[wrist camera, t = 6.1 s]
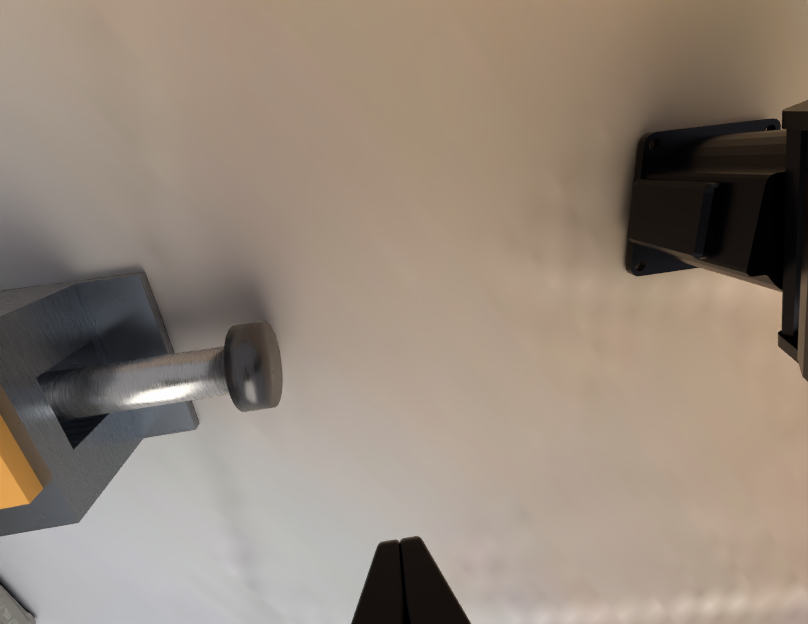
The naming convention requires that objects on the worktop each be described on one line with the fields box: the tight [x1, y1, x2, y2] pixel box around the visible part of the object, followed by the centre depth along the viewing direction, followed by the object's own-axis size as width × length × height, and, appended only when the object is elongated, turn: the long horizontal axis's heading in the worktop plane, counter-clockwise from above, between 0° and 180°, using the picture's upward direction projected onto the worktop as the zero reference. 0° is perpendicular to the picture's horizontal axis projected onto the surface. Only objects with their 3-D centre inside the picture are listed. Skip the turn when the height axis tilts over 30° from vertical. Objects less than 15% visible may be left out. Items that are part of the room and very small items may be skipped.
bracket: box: [0, 272, 199, 536], centre depth 15 cm, size 9×8×6 cm
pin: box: [36, 321, 282, 421], centre depth 16 cm, size 11×4×4 cm, turn 96°
